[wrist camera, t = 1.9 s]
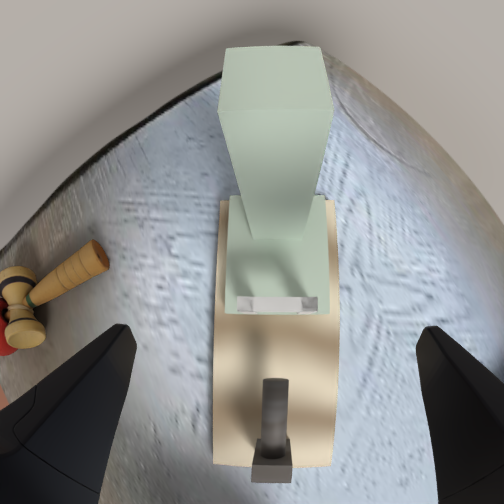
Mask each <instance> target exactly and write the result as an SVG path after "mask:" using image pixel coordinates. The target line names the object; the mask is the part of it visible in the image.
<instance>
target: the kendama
mask: <svg viewBox="0 0 504 504" xmlns="http://www.w3.org/2000/svg"><path fill="white" fill-rule="evenodd" d="M108 269H109V261H108V258H107V256H106V254H105V252H104V250H103V248H102V247H101V246H100V244H99V243H98V242H97V241H95V240H94V239H92V240H91V241H89V242H88V243H87V244H86V245H84V246H83V247H82V248H81V249H80V250H78V251H77V252H76V253H74V254H73V255H72V256H71V257H69V258H68V259H67V260H65V261H64V262H63V263H61V264H60V265H59V266H58V267H57V268H55V269H54V270H53V271H51V272H50V273H49V274H48V275H47V276H45V277H44V278H43V279H42V280H41V281H40V282H39V283H38V284H37V280H36V275H35V273H34V272H33V271H32V270H31V269H29V268H26V267H22V266H13V267H9V268H6V269H4V270H3V271H1V272H0V295H1V296H2V297H3V298H0V356H6V355H10V354H12V353H14V352H15V351H16V350H17V349H18V348H19V349H25V348H32V347H35V346H38V345H40V344H41V343H42V342H43V341H44V340H45V339H46V334H45V328H44V326H43V325H42V324H41V323H40V322H39V321H37V320H36V318H35V317H34V315H33V313H34V311H33V308H34V307H37V306H39V305H41V304H43V303H45V302H48V301H50V300H52V299H54V298H56V297H58V296H60V295H62V294H64V293H65V292H67V291H69V290H70V289H72V288H74V287H76V286H77V285H80V284H81V283H83V282H85V281H87V280H89V279H91V278H92V277H94V276H96V275H98V274H100V273H102V272H105V271H107V270H108Z"/></svg>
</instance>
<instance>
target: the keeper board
mask: <svg viewBox="0 0 504 504" xmlns="http://www.w3.org/2000/svg"><path fill="white" fill-rule="evenodd" d="M229 201H230V200H224V201H220V215H219V232H218V249H217V269H216V291H215V318H214V356H213V464H219V465H229V466H241V467H252V475H251V482H256V483H291V479H292V468H305V467H323V466H331V460H332V452H333V442H334V432H335V421H336V408H337V392H338V372H339V333H340V307H339V266H338V245H337V229H336V215H335V203H334V200H325V203H326V217H327V234H328V255H329V289H330V314H322V315H252V314H226V313H225V287H226V262H227V240H228V220H229Z"/></svg>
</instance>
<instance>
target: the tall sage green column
mask: <svg viewBox="0 0 504 504" xmlns="http://www.w3.org/2000/svg"><path fill="white" fill-rule="evenodd" d="M217 112H218V116H219V119H220V123H221V126H222V130H223V133H224V137H225V140H226V144H227V148H228V151H229V155H230V158H231V162H232V165H233V169H234V173H235V176H236V180H237V183H238V187H239V190H240V194H241V195H234V196H230V201H229V220H228V240H227V262H226V287H225V313H226V314H252V315H322V314H330V289H329V255H328V234H327V217H326V203H325V195H314V194H315V190H316V186H317V182H318V178H319V174H320V170H321V166H322V162H323V157H324V153H325V149H326V145H327V140H328V136H329V132H330V127H331V123H332V118H333V114H334V107H333V102H332V97H331V92H330V87H329V82H328V78H327V74H326V69H325V65H324V61H323V57H322V53H321V49H320V47H308V46H257V47H239V48H227V49H226V54H225V60H224V67H223V73H222V80H221V88H220V95H219V102H218V110H217Z"/></svg>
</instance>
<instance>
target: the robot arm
mask: <svg viewBox="0 0 504 504" xmlns="http://www.w3.org/2000/svg"><path fill="white" fill-rule="evenodd" d="M136 349H137V344H136V341H135V338H134V336H133V334H132V332H131V329H130V327H129V326H128V325H126V324H115V325H113V326H112V327H111V328H109V329H108V330H107V331H105V332H104V333H103V334H101V335H100V336H99V337H97V338H96V339H95V340H93V341H92V342H91V343H89V344H88V345H87V346H85V347H84V348H83V349H81V350H80V351H79V352H78V353H76V354H75V355H74V356H72V357H71V358H70V359H68V360H67V361H66V362H65V363H63V364H62V365H61V366H59V367H58V368H57V369H55V370H54V371H53V372H52V373H50V374H49V375H48V376H47V377H45V378H44V379H43V380H41V381H40V382H39V383H38V384H37V385H35V386H34V387H32V388H31V389H30V390H29V391H27V392H26V393H25V394H23V395H22V396H21V397H19V398H18V399H17V400H15V401H14V402H12V403H11V404H9V405H8V406H7V407H5V408H3V409H2V410H0V504H98V502H99V497H100V491H101V487H102V483H103V478H104V474H105V470H106V466H107V462H108V458H109V454H110V450H111V446H112V443H113V439H114V435H115V432H116V428H117V425H118V421H119V418H120V415H121V411H122V408H123V405H124V401H125V398H126V395H127V391H128V387H129V383H130V378H131V373H132V368H133V363H134V359H135V354H136ZM416 356H417V363H418V369H419V376H420V384H421V391H422V397H423V401H424V406H425V411H426V416H427V421H428V426H429V431H430V437H431V443H432V449H433V456H434V464H435V472H436V481H437V491H438V501H439V502H438V504H504V384H503V383H502V382H501V381H500V380H499V379H498V378H497V377H496V376H495V375H494V374H493V373H492V372H490V371H489V370H488V369H487V368H486V367H485V366H484V365H483V364H481V363H480V362H479V361H478V360H477V359H476V358H475V357H474V356H472V355H471V354H470V353H469V352H468V351H467V350H465V349H464V348H463V347H462V346H461V345H460V344H458V343H457V342H456V341H455V340H454V339H453V338H451V337H450V336H449V335H448V334H447V333H445V332H444V331H443V330H442V329H441V328H439V327H438V326H427V327H425V328H424V329H423V331H422V334H421V336H420V338H419V340H418V342H417V345H416Z"/></svg>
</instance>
